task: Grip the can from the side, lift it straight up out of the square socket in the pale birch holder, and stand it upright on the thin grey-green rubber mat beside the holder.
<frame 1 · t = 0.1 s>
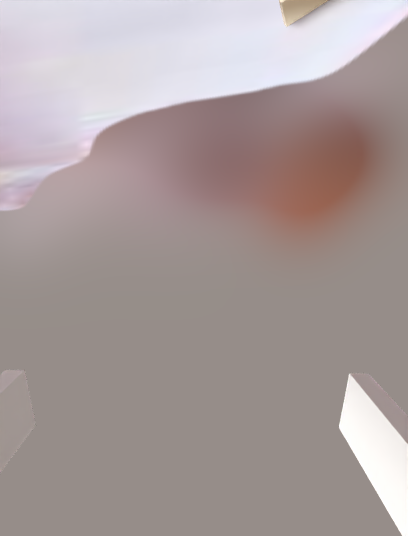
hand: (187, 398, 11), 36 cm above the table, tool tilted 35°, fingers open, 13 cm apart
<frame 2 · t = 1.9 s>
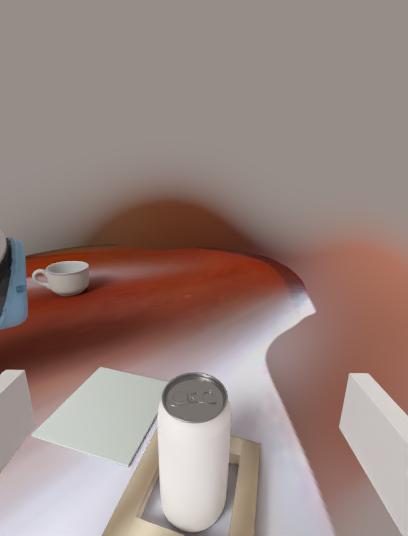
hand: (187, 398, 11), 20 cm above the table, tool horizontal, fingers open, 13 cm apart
teacup: (65, 293, 74), on the table
mat: (111, 407, 35), on the table
holder: (193, 493, 25), on the table
can: (193, 495, 26), resting in holder
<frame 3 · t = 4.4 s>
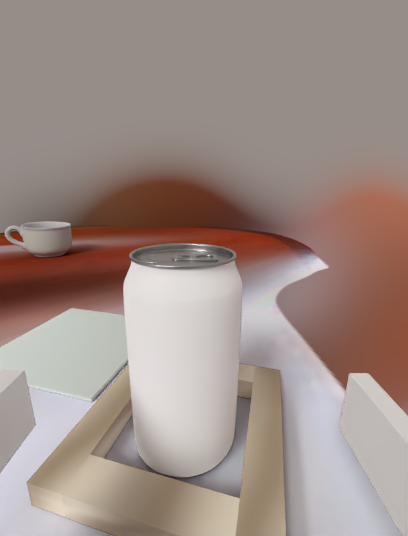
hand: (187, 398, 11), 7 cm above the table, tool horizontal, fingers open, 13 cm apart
teacup: (44, 256, 66), on the table
mat: (79, 343, 27), on the table
holder: (185, 430, 17), on the table
can: (185, 433, 17), resting in holder
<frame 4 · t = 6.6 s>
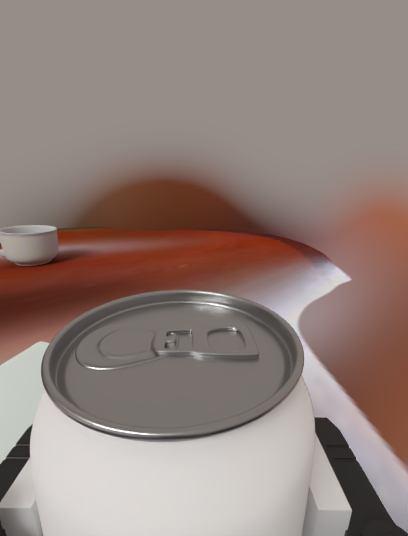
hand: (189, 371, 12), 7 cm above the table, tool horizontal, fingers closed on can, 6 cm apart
teacup: (26, 264, 58), on the table
mat: (36, 403, 19), on the table
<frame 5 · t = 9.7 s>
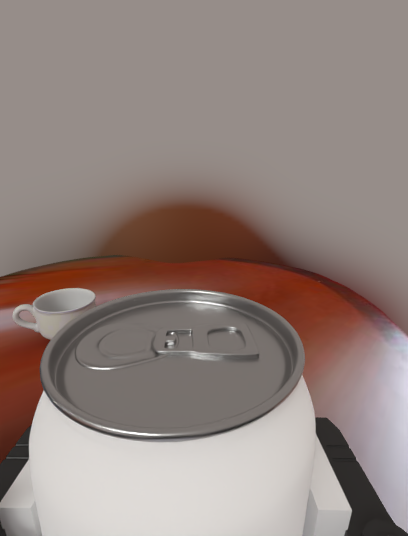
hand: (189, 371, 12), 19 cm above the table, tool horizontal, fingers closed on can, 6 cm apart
teacup: (61, 336, 52), on the table
when the fingers open (7 cm above the table, at t = 12.7 s): can stays where it is, resting on mat.
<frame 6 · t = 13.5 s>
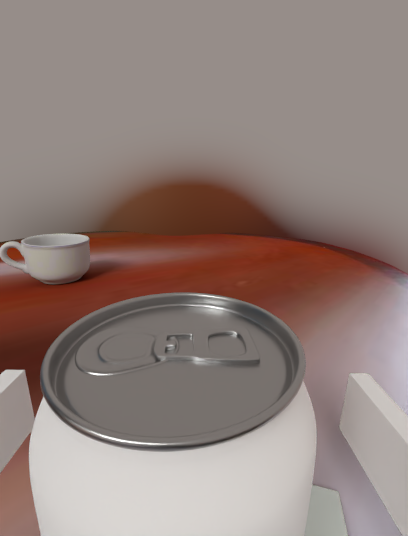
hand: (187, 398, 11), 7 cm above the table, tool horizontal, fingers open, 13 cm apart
teacup: (53, 281, 48), on the table
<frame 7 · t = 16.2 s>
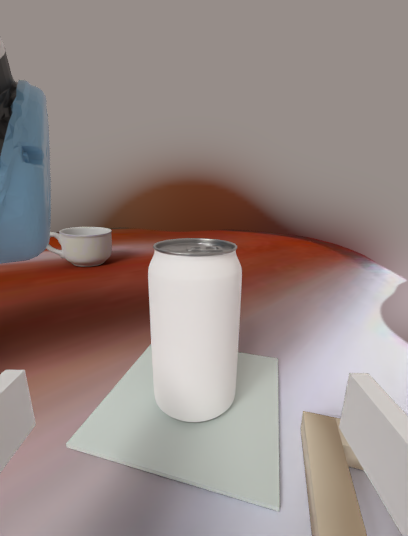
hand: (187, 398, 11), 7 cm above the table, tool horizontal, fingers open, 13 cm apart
teacup: (82, 264, 60), on the table
mat: (194, 395, 21), on the table
can: (194, 394, 21), resting on mat
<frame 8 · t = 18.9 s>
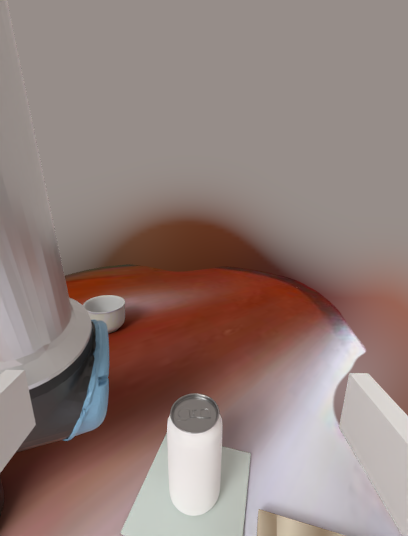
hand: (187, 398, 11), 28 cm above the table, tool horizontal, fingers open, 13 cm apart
teacup: (100, 330, 72), on the table
mat: (194, 489, 33), on the table
can: (194, 489, 33), resting on mat
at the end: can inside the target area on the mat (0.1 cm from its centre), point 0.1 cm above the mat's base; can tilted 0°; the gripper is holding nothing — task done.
